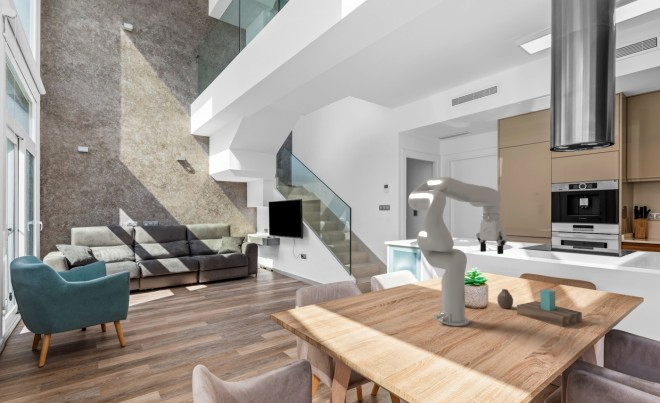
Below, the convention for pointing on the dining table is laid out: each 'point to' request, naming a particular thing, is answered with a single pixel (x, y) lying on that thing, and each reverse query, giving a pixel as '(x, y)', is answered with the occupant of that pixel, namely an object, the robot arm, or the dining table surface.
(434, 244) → the robot arm
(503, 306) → the vase
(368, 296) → the dining table surface
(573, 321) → the socket block
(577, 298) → the dining table surface
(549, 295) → the peg
